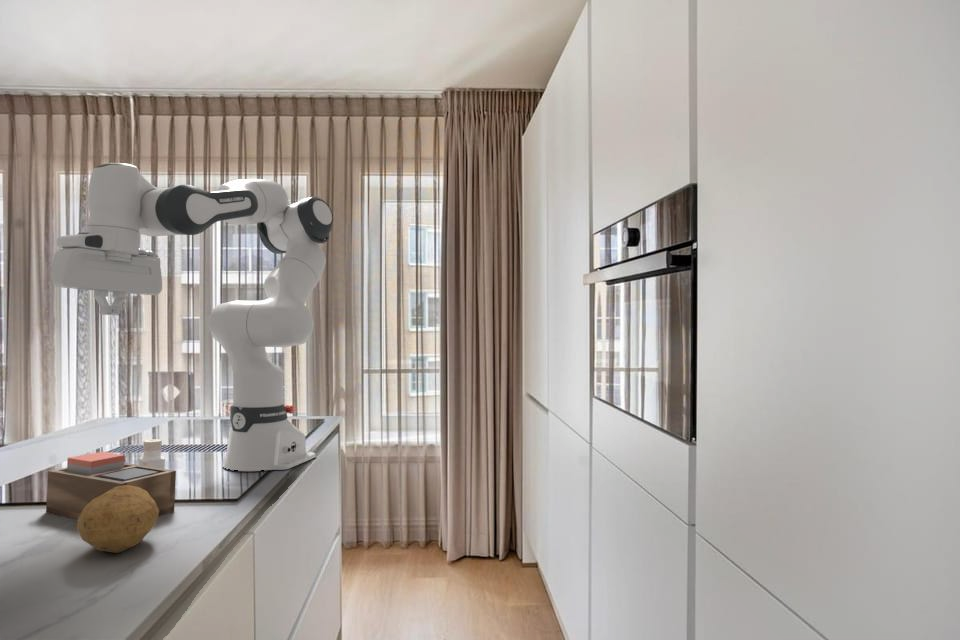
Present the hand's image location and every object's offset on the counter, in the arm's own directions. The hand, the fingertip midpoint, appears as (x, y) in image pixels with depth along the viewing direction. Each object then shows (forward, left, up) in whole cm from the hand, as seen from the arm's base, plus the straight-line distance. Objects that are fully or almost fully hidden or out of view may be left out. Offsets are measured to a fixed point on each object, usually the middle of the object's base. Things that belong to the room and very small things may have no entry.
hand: (109, 315), depth 112 cm
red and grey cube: (+8, +10, -31) cm, 34 cm away
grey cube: (+8, +18, -33) cm, 39 cm away
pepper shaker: (-5, +7, -34) cm, 35 cm away
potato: (+19, +31, -34) cm, 50 cm away
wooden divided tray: (+8, +14, -34) cm, 38 cm away
